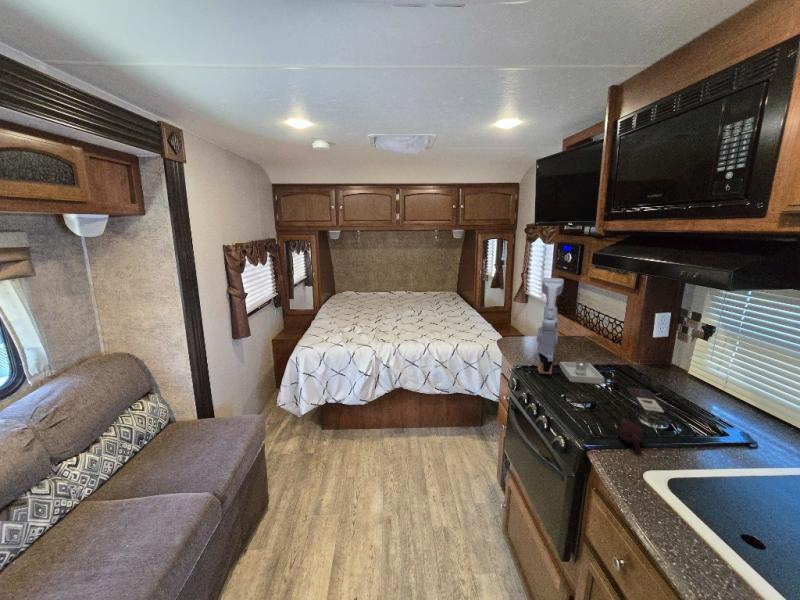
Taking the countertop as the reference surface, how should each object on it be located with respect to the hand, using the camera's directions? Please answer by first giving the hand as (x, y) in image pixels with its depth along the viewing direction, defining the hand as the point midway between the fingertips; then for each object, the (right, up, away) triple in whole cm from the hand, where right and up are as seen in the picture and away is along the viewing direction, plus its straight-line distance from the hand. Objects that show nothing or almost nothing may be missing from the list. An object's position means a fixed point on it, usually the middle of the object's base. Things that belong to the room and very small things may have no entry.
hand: (544, 369), depth 158 cm
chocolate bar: (+30, -8, -25) cm, 40 cm away
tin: (+16, -2, -3) cm, 16 cm away
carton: (0, -2, 0) cm, 2 cm away
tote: (+16, -2, -3) cm, 16 cm away
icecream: (+6, -13, -50) cm, 52 cm away
